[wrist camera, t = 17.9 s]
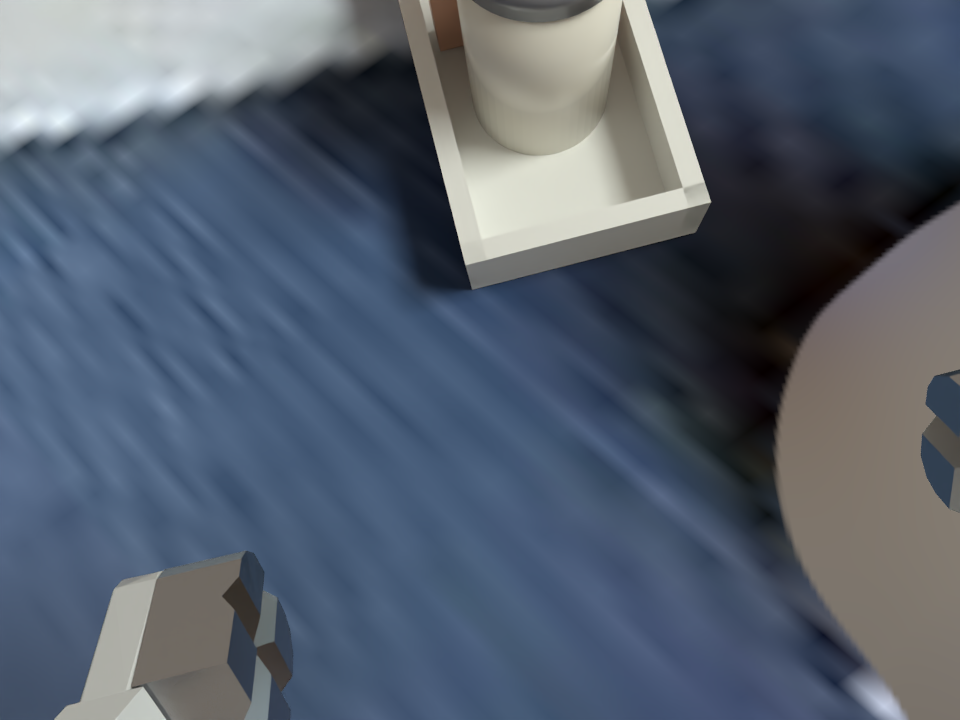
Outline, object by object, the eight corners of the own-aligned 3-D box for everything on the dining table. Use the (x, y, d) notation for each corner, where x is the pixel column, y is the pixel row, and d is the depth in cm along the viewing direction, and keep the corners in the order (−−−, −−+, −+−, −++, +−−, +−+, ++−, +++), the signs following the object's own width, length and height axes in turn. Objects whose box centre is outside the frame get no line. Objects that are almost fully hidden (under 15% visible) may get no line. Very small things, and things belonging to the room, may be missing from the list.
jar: (490, 176, 34) (469, 17, 23) (452, 51, 35) (415, -152, 25) (630, 135, 34) (670, -42, 23) (586, 12, 35) (606, -209, 25)
